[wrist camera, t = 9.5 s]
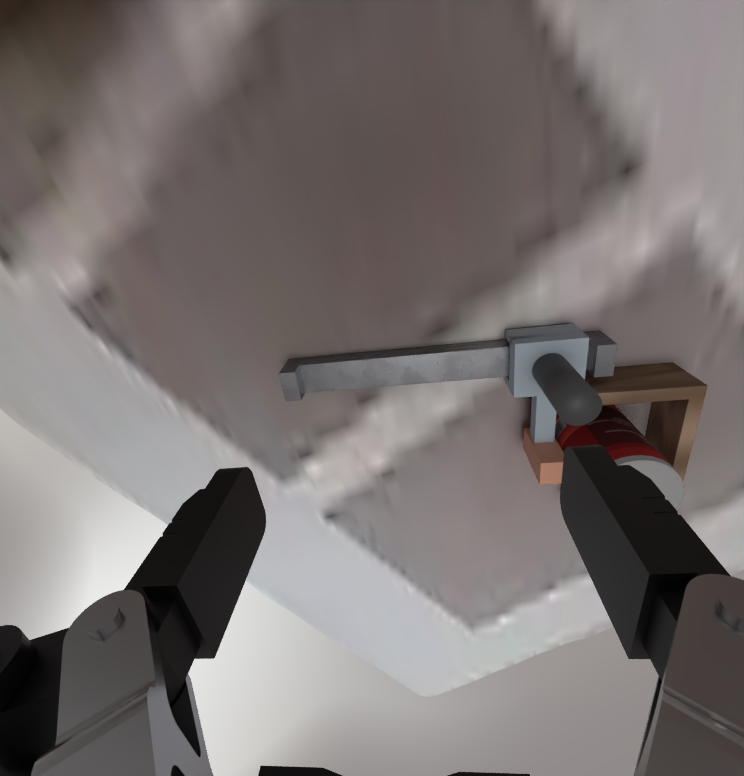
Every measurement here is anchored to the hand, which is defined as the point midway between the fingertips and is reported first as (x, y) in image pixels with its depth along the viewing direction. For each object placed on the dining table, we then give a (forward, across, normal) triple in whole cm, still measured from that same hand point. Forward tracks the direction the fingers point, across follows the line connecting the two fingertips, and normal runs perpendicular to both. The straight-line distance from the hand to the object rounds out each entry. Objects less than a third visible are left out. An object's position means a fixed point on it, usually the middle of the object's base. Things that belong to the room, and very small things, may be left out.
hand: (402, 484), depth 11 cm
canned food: (+30, -17, +19) cm, 39 cm away
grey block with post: (+29, -12, +13) cm, 34 cm away
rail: (+30, -2, +9) cm, 31 cm away
